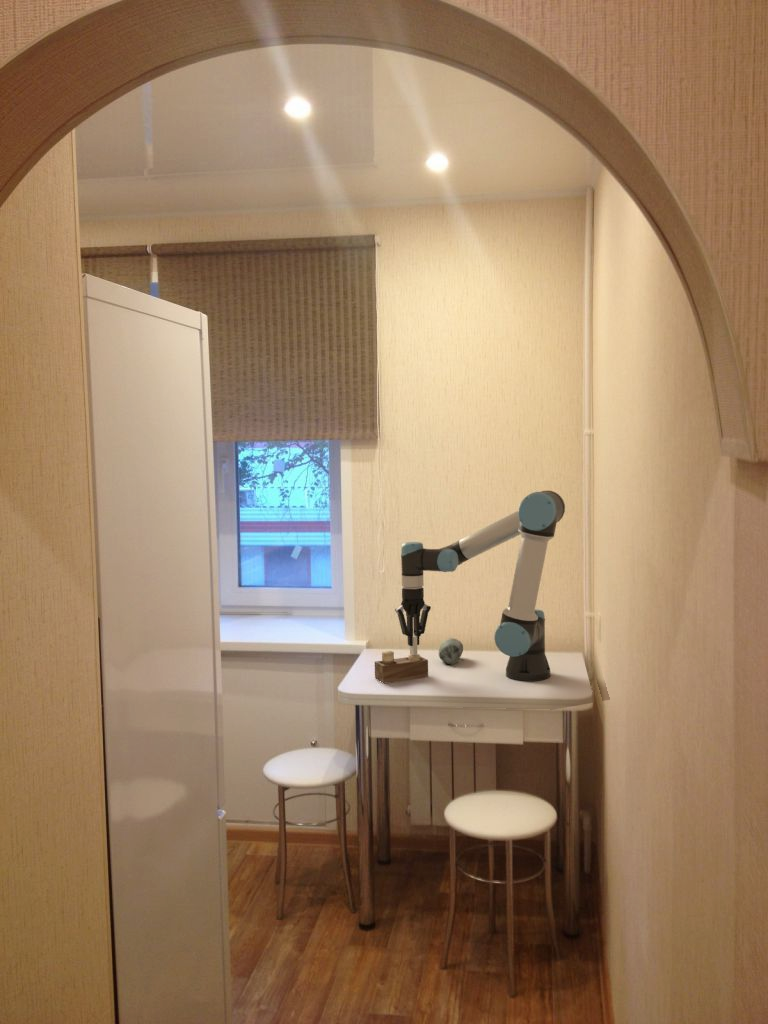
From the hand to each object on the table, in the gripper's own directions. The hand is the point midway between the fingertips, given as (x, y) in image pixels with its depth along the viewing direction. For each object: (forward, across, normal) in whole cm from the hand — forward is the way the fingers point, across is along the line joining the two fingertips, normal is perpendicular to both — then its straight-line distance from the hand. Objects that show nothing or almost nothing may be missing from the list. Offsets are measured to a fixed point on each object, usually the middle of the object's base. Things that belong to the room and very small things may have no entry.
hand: (413, 654), depth 310 cm
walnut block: (+8, +5, 0) cm, 9 cm away
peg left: (+4, +10, 0) cm, 11 cm away
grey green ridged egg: (+8, -21, -12) cm, 25 cm away
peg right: (+6, 0, 0) cm, 6 cm away
